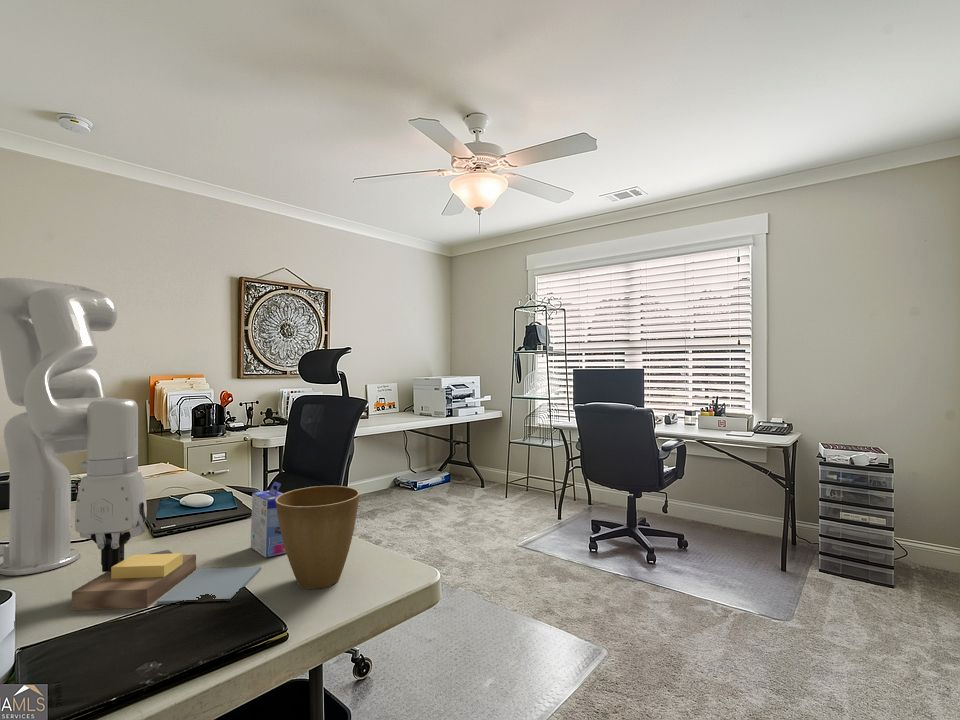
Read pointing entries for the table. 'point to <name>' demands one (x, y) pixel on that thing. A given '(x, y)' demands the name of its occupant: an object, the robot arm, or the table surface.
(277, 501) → the plant pot
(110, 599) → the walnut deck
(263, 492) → the ink cartridge box
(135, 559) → the ochre block
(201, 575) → the slate mat
